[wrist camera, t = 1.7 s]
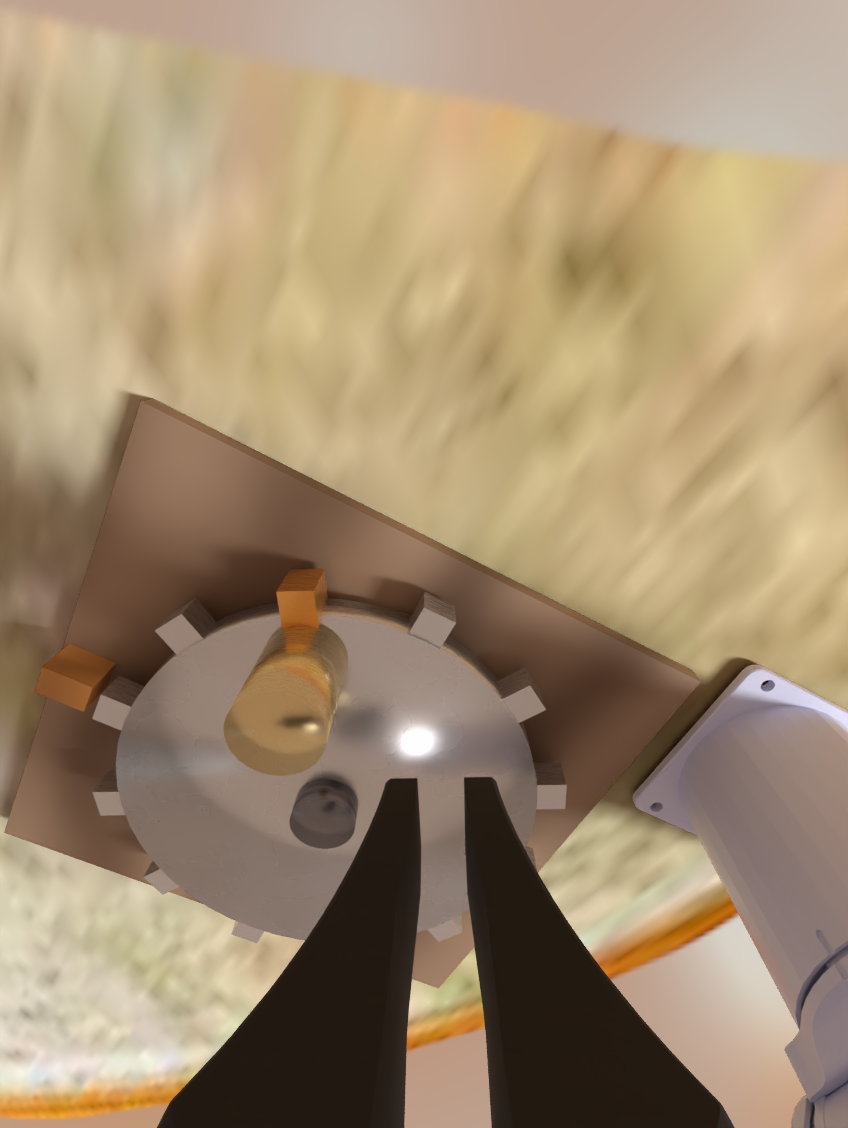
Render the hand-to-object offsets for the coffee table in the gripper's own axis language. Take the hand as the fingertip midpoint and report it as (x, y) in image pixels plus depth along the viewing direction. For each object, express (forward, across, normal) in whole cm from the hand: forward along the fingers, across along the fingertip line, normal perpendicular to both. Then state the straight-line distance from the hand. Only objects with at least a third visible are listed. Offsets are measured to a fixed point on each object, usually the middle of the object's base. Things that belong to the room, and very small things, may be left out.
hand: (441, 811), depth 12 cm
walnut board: (+9, +4, +6) cm, 12 cm away
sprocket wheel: (+8, +5, +7) cm, 11 cm away
